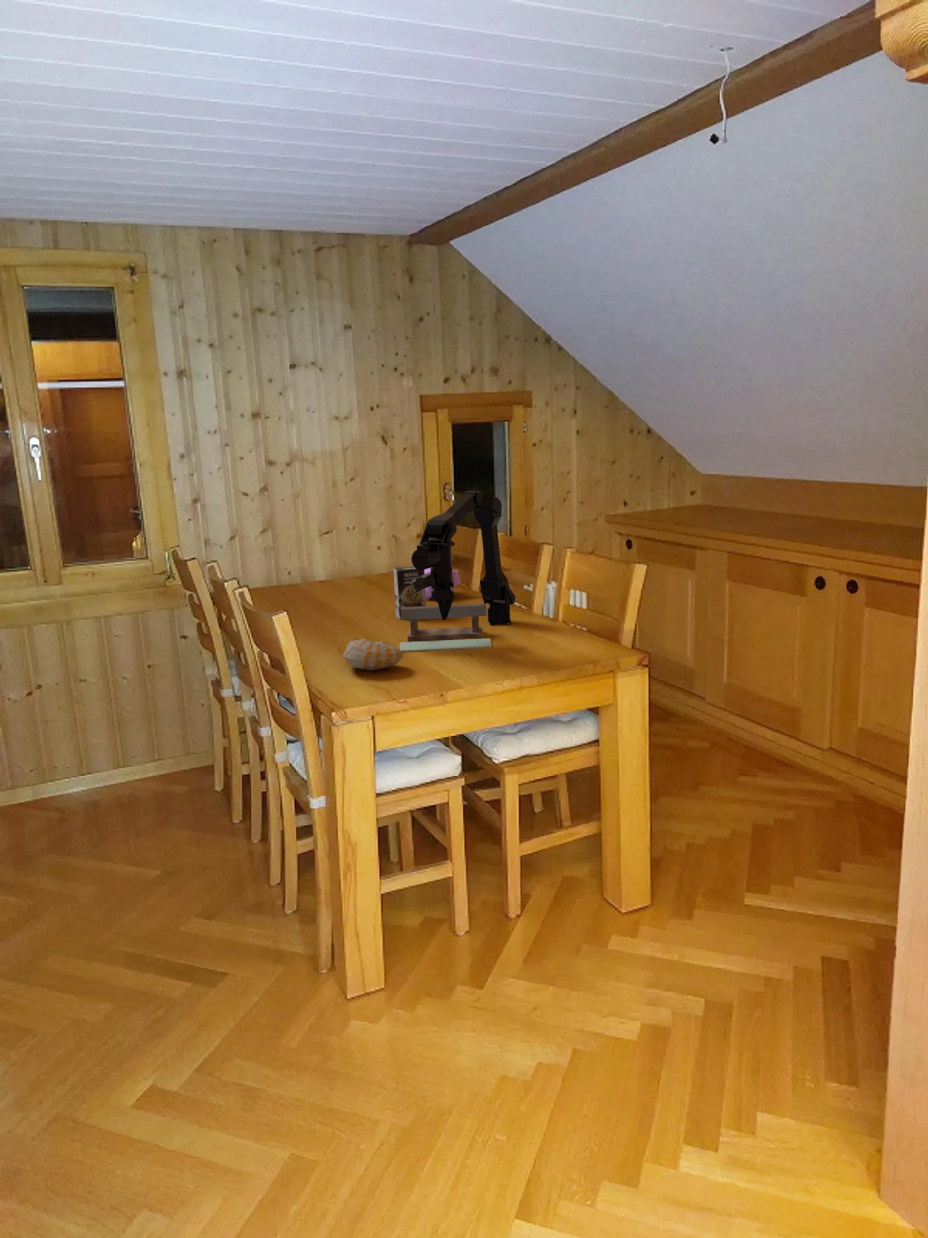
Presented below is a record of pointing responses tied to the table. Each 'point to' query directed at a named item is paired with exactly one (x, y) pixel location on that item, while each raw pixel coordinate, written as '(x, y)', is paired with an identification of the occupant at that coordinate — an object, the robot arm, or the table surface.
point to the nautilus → (371, 654)
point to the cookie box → (407, 589)
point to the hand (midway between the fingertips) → (444, 618)
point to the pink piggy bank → (429, 589)
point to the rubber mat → (445, 645)
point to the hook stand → (444, 632)
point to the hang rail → (434, 612)
